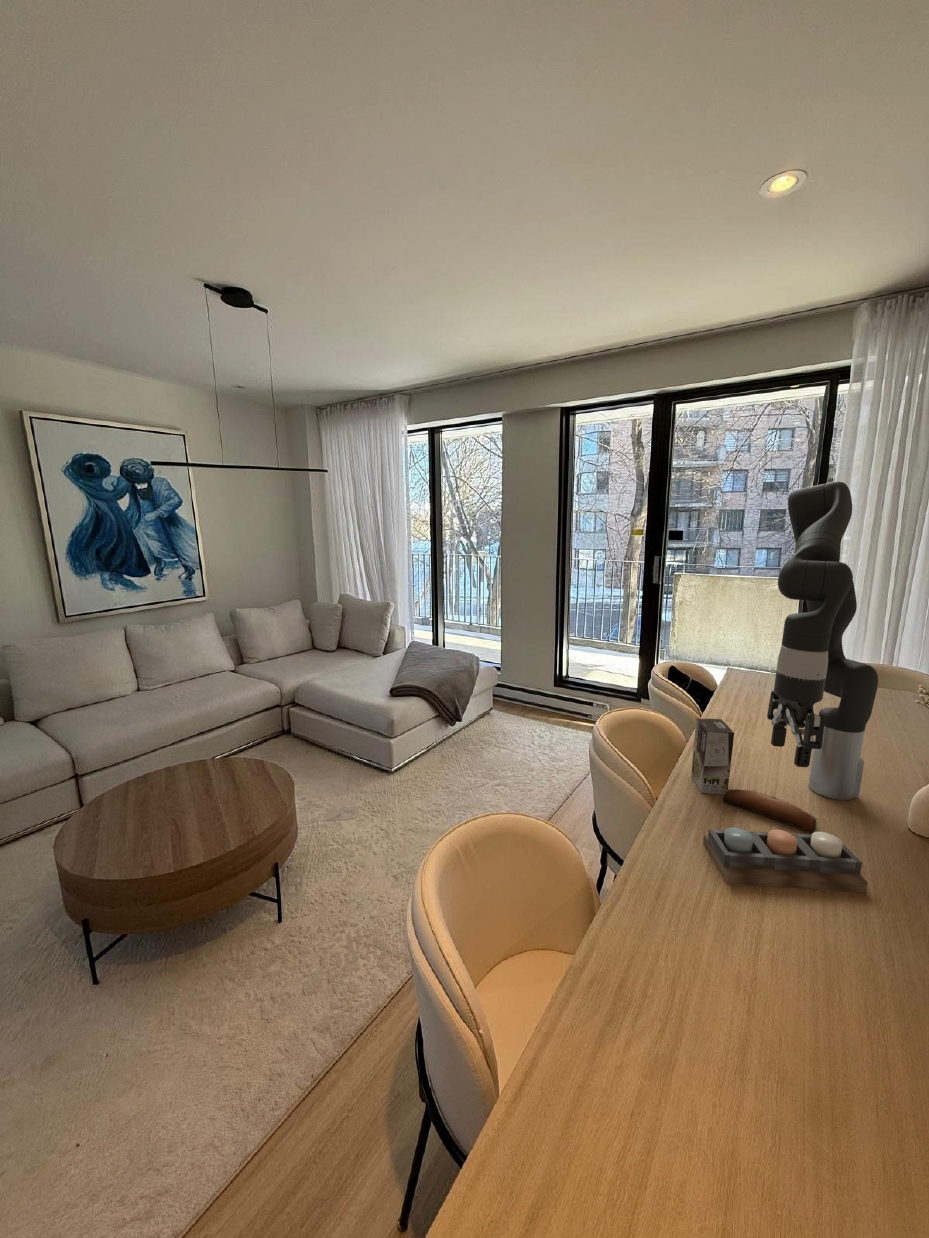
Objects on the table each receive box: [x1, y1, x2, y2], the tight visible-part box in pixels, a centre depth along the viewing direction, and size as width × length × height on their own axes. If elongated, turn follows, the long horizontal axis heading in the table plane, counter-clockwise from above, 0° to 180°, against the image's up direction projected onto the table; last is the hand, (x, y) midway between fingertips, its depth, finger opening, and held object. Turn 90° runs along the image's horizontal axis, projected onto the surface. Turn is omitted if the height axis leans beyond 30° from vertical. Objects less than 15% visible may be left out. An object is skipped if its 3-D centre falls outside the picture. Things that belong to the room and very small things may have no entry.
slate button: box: [724, 827, 753, 853], centre depth 98 cm, size 5×5×3 cm
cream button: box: [810, 831, 844, 858], centre depth 97 cm, size 5×5×3 cm
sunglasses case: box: [722, 788, 818, 834], centre depth 116 cm, size 18×7×7 cm
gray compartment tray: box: [702, 829, 869, 893], centre depth 98 cm, size 24×12×4 cm, turn 85°
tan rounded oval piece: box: [767, 829, 798, 856], centre depth 97 cm, size 5×5×3 cm
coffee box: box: [690, 717, 736, 796], centre depth 127 cm, size 9×6×16 cm
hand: (788, 755), depth 95 cm, fingers open, 8 cm apart
